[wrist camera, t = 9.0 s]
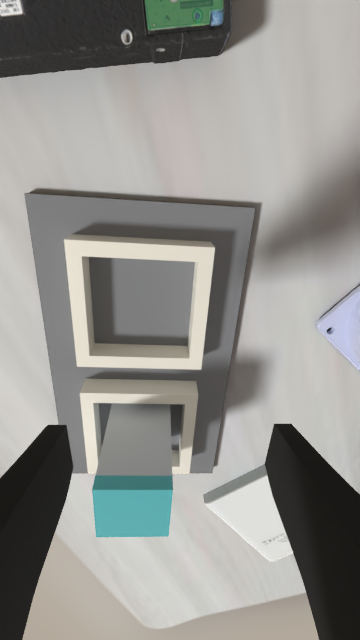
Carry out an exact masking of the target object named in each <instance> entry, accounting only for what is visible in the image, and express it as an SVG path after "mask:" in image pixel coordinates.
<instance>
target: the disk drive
mask: <svg viewBox="0 0 360 640" xmlns="http://www.w3.org/2000/svg"><path fill="white" fill-rule="evenodd" d="M231 1H232V0H0V78H2V77H9V76H19V75H32V74H38V73H47V72H58V71H65V70H82V69H86V68H98V67H107V66H117V65H126V64H136V63H149V62H154V63H155V64H156V63H166V62H173V61H179V60H181V59H190V58H202V57H210V56H218V55H220V54H221V53H222V51H223V49H224V47H225V45H226V43H227V41H228V38H229V36H230V34H231V32H232V2H231Z"/></svg>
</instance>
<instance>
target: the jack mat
mask: <svg viewBox="0 0 360 640" xmlns="http://www.w3.org/2000/svg"><path fill="white" fill-rule="evenodd" d="M25 200H26V207H27V214H28V220H29V227H30V234H31V241H32V247H33V254H34V261H35V267H36V274H37V281H38V288H39V294H40V301H41V308H42V315H43V321H44V328H45V335H46V342H47V348H48V355H49V362H50V368H51V375H52V382H53V389H54V395H55V402H56V409H57V416H58V422H59V425H67V431H68V437H69V443H70V449H71V455H72V461H73V471H72V473H88V470H87V460H86V451H85V441H84V431H83V421H82V411H81V402H80V391H81V388H82V385H83V383H84V380H85V379H131V380H179V381H196V383H197V390H198V403H197V411H196V420H195V429H194V438H193V447H192V456H191V464H190V473H212V472H213V466H214V460H215V454H216V447H217V441H218V435H219V429H220V423H221V417H222V410H223V404H224V398H225V392H226V386H227V380H228V373H229V367H230V361H231V355H232V349H233V342H234V336H235V330H236V324H237V318H238V312H239V305H240V299H241V293H242V287H243V281H244V275H245V268H246V262H247V256H248V250H249V244H250V238H251V231H252V225H253V219H254V213H255V208H253V207H241V206H225V205H209V204H194V203H178V202H162V201H147V200H131V199H115V198H100V197H84V196H68V195H53V194H37V193H25ZM72 234H79V235H97V236H116V237H134V238H152V239H170V240H189V241H207V242H212V244H213V245H214V247H215V253H214V262H213V271H212V279H211V288H210V297H209V306H208V315H207V323H206V332H205V341H204V350H203V359H202V367H201V370H192V369H150V368H108V367H77V363H76V353H75V343H74V333H73V323H72V314H71V304H70V294H69V284H68V275H67V265H66V255H65V245H64V239H65V238H67V237H69V236H70V235H72ZM194 267H195V262H186V261H166V260H146V259H126V258H106V257H89V268H90V283H91V297H92V312H93V326H94V341H95V343H104V344H138V345H172V346H188V337H189V325H190V314H191V302H192V291H193V279H194ZM111 405H112V403H99V414H100V428H101V443H102V445H103V440H104V436H105V431H106V427H107V423H108V418H109V414H110V409H111ZM182 406H183V404H170V414H171V448H172V450H179V441H180V429H181V418H182Z"/></svg>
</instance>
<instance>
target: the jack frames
mask: <svg viewBox="0 0 360 640" xmlns="http://www.w3.org/2000/svg"><path fill="white" fill-rule="evenodd" d="M64 245H65V255H66V265H67V275H68V284H69V294H70V304H71V314H72V323H73V333H74V343H75V353H76V363H77V367H108V368H150V369H192V370H201V367H202V359H203V350H204V341H205V332H206V323H207V315H208V306H209V297H210V288H211V279H212V271H213V262H214V253H215V247H214V245H213V244H212V242H207V241H189V240H170V239H152V238H134V237H116V236H97V235H79V234H72V235H70V236H69V237H67V238H65V239H64ZM89 257H106V258H126V259H146V260H166V261H186V262H195V267H194V279H193V291H192V302H191V314H190V325H189V337H188V346H172V345H138V344H104V343H95V341H94V326H93V312H92V297H91V283H90V268H89ZM80 402H81V411H82V421H83V431H84V441H85V451H86V460H87V470H88V474H96V471H97V467H98V463H99V458H100V454H101V449H102V443H101V428H100V414H99V403H127V404H183V406H182V418H181V429H180V441H179V450H172V474H189V473H190V464H191V456H192V447H193V438H194V429H195V420H196V411H197V403H198V390H197V383H196V381H179V380H131V379H85V380H84V383H83V385H82V388H81V391H80Z"/></svg>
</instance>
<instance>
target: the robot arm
mask: <svg viewBox="0 0 360 640" xmlns="http://www.w3.org/2000/svg"><path fill="white" fill-rule="evenodd" d="M330 327H331V330H330V331H327V329H328V328H330ZM316 328H317V329H318V330H319V331H320V332H321V333H322V334H323V335H324V336H325V337H326V338H327V339H328V340H329V341H330V342H331V343H332V344H333V345H334V346H335V347H336V348H337V349H338V350H339V351H340V352H341V353H342V354H343V355H344V356H345V357H346V358H347V359H348V360H349V361H350V362H351V363H352V364H353V365H354V366H355V367H356V368H357V369H358V370H359V371H360V285H359V286H358V287H357V288H356V289H355V290H354V291H352V292H351V293H350V294H349V295H348V296H346V297H345V298H344V299H343V300H342V301H340V302H339V303H338V304H337V305H336V306H335V307H333V308H332V309H331V310H330V311H329V312H327V313H326V314H325V315H324V316H323V317H321V318H320V319H319V320H318V321H317V323H316ZM265 467H266V471H267V476H268V480H269V484H270V488H271V492H272V496H273V498H274V501H275V504H276V507H277V510H278V512H279V515H280V518H281V521H282V524H283V526H284V529H285V532H286V535H287V537H288V540H289V543H290V545H291V548H292V551H293V554H294V556H295V559H296V562H297V565H298V567H299V570H300V573H301V576H302V579H303V583H304V586H305V589H306V593H307V596H308V599H309V603H310V606H311V610H312V614H313V618H314V621H315V625H316V629H317V632H318V636H319V640H360V494H359V493H358V492H356V491H355V490H354V489H353V488H352V487H351V486H350V485H349V484H348V483H347V482H346V481H345V480H344V479H343V478H342V477H341V476H340V475H339V474H338V473H337V472H336V471H335V470H334V469H333V468H332V467H331V466H330V465H329V464H328V463H327V462H326V461H325V459H324V458H323V457H322V456H321V455H320V454H319V453H318V452H317V451H316V450H315V449H314V448H313V447H312V446H311V445H310V444H309V442H308V441H307V440H306V439H305V438H304V437H303V436H302V435H301V434H300V433H299V432H298V431H297V430H296V428H295V427H294V426H293V425H292V424H274V427H273V432H272V436H271V440H270V444H269V449H268V453H267V457H266V461H265ZM72 471H73V461H72V455H71V449H70V443H69V437H68V431H67V425H48V426H46V427H45V428H44V430H43V431H42V432H41V433H40V434H39V435H38V437H37V438H36V439H35V440H34V441H33V442H32V444H31V445H30V446H29V447H28V448H27V449H26V450H25V452H24V453H23V454H22V455H21V456H20V457H19V458H18V459H17V461H16V462H15V463H14V464H13V465H12V466H11V467H10V468H9V469H8V470H7V471H6V473H5V474H4V475H3V476H2V477H1V478H0V640H22V638H23V634H24V630H25V626H26V622H27V619H28V614H29V611H30V607H31V603H32V599H33V595H34V593H35V589H36V586H37V583H38V579H39V576H40V573H41V571H42V568H43V565H44V562H45V559H46V556H47V553H48V550H49V547H50V545H51V541H52V539H53V536H54V533H55V530H56V527H57V524H58V521H59V518H60V515H61V512H62V509H63V506H64V503H65V500H66V497H67V493H68V489H69V484H70V480H71V475H72Z"/></svg>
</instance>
